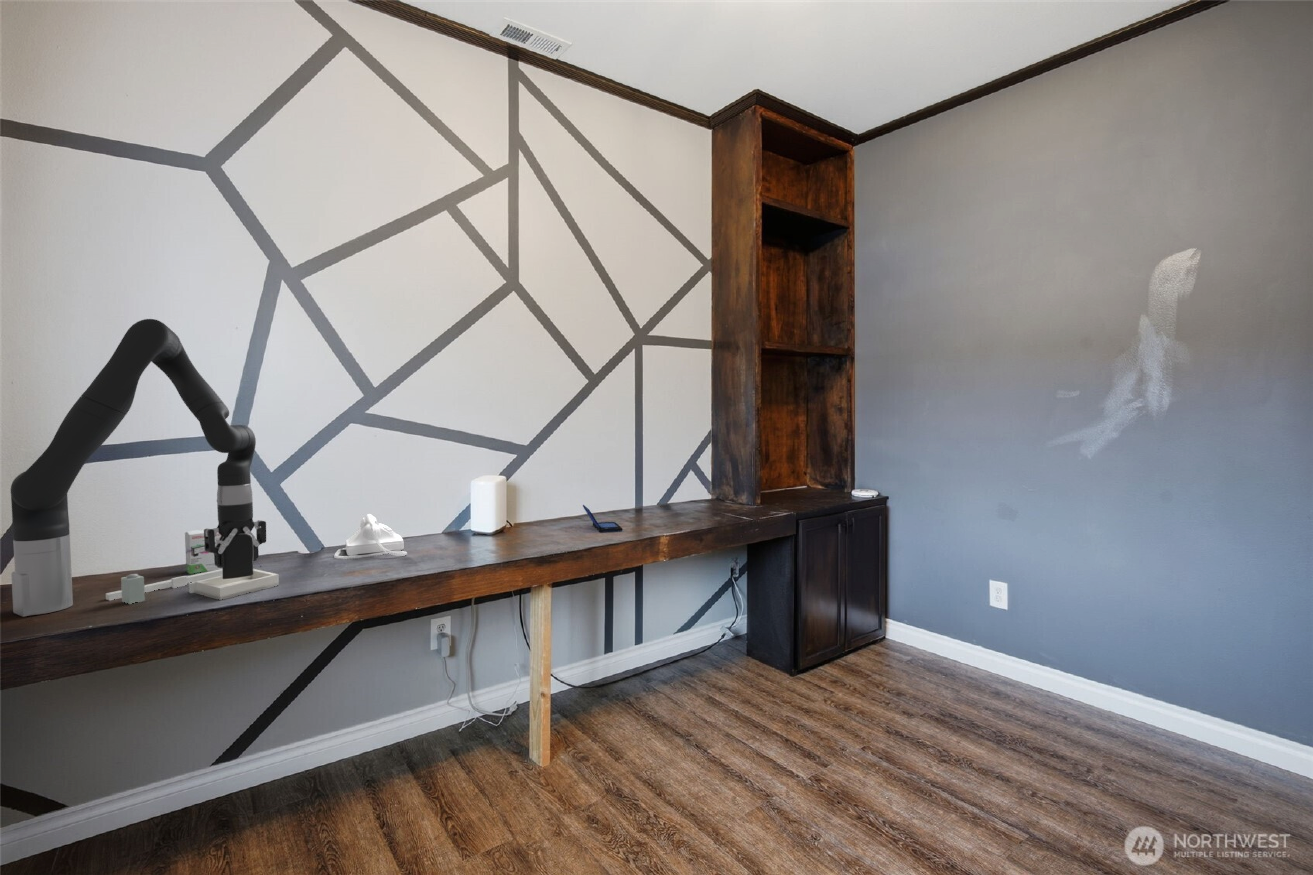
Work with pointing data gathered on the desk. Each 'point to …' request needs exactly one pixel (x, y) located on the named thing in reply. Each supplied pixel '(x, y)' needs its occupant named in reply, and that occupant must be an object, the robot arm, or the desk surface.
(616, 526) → the handheld game console
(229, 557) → the black rounded upright slab
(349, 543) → the telephone
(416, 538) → the desk surface
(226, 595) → the tray
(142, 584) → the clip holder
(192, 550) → the ink box
